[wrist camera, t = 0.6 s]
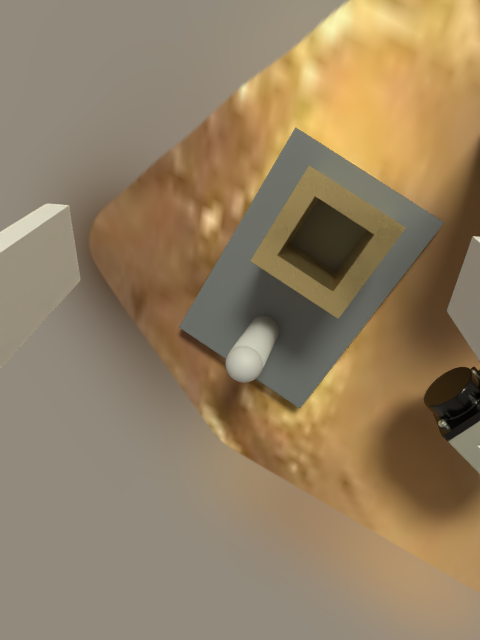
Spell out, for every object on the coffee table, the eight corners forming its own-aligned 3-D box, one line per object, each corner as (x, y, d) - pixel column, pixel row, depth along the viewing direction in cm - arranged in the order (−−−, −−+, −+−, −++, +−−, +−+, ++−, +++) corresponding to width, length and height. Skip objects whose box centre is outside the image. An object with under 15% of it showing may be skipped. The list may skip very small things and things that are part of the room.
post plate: (440, 221, 38) (480, 233, 27) (301, 401, 46) (286, 469, 35) (297, 129, 38) (277, 104, 27) (184, 323, 46) (132, 365, 35)
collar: (394, 220, 37) (406, 227, 30) (339, 295, 40) (338, 318, 33) (316, 170, 38) (309, 165, 30) (268, 248, 41) (250, 260, 33)
